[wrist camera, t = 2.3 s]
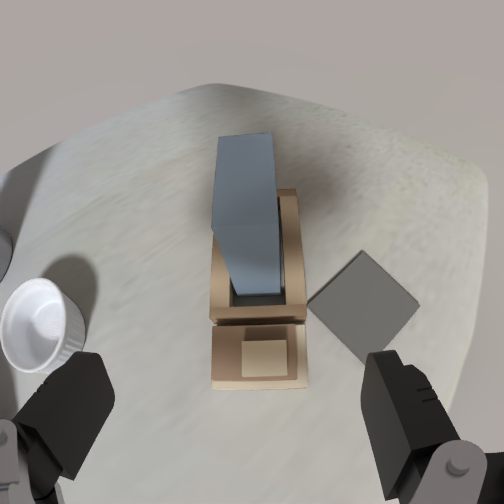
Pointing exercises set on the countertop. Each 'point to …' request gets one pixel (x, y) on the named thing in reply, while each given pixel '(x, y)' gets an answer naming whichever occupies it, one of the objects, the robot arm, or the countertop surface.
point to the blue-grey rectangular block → (247, 213)
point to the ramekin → (40, 327)
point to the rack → (261, 321)
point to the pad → (364, 307)
